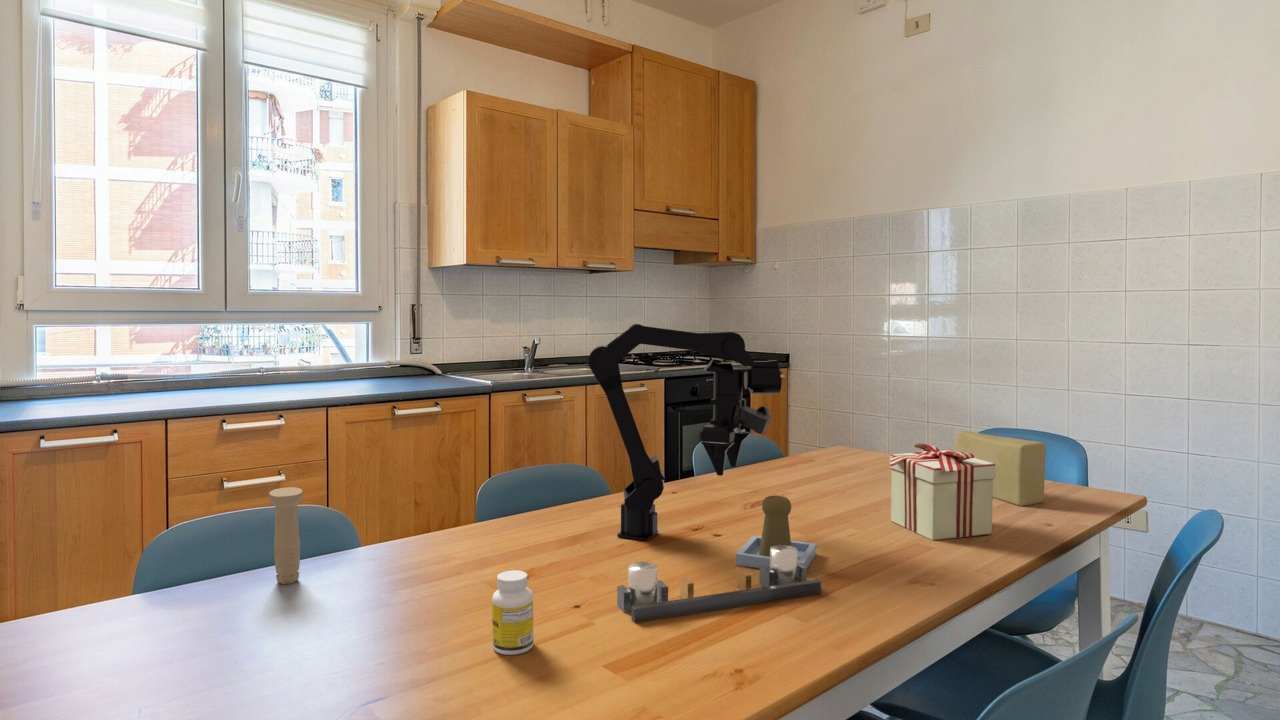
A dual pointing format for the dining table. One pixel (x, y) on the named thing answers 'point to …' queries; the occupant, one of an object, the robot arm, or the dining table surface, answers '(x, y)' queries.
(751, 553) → the tray
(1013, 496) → the cheese
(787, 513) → the olive knobbed post
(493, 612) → the supplement bottle
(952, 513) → the gift box
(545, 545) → the dining table surface
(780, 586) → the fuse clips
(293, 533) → the handle
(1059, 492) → the dining table surface
